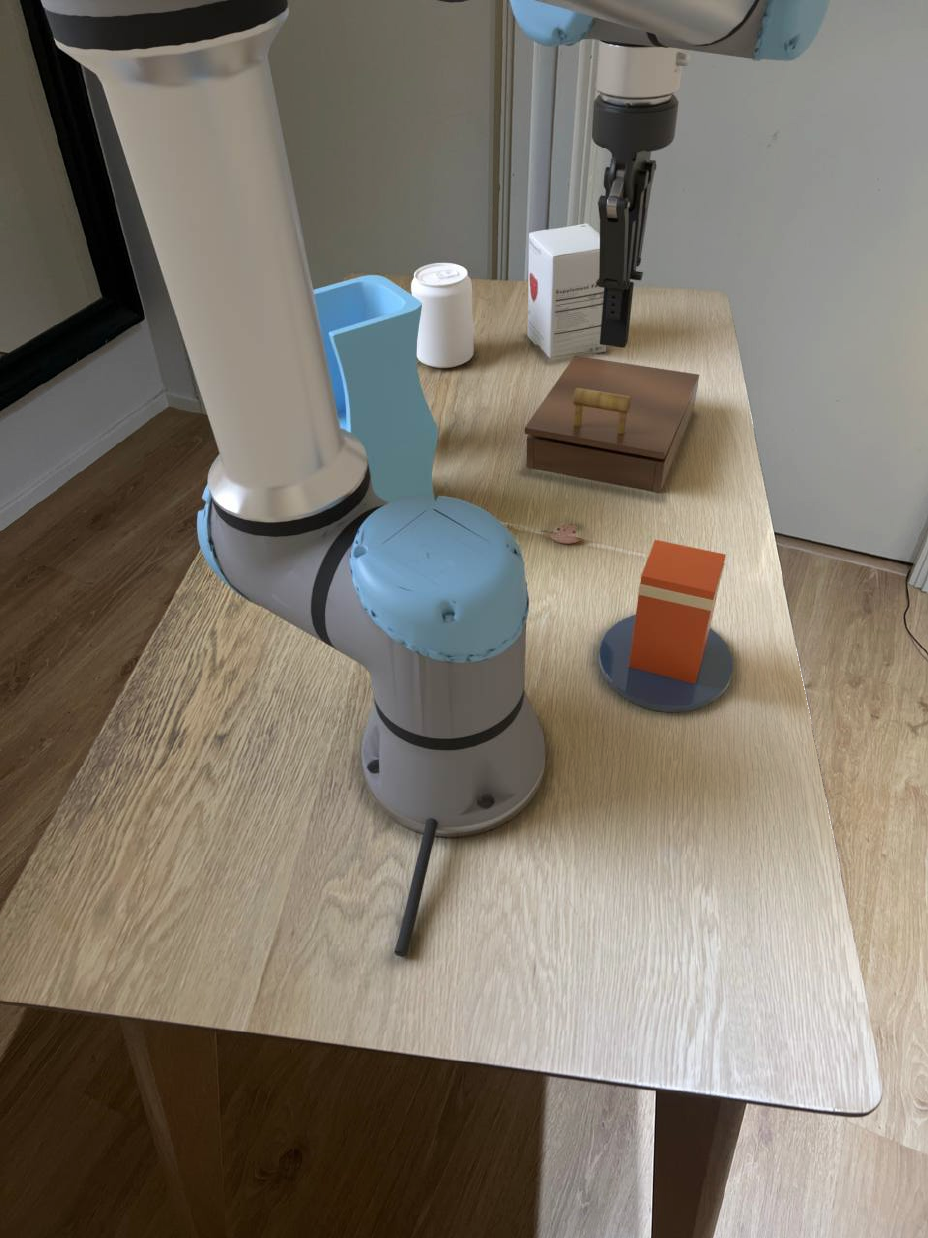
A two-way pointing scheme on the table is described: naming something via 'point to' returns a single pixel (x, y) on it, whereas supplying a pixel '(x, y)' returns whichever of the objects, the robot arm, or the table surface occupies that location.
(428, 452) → the vase
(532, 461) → the chest
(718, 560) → the box
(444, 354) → the beverage can
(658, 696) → the plate
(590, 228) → the white product box
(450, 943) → the table surface
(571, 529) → the cookie
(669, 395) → the chest lid
